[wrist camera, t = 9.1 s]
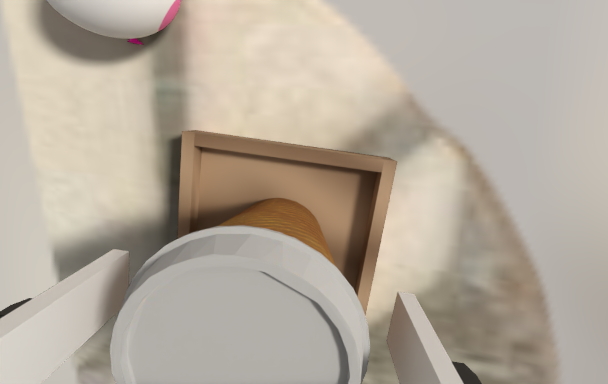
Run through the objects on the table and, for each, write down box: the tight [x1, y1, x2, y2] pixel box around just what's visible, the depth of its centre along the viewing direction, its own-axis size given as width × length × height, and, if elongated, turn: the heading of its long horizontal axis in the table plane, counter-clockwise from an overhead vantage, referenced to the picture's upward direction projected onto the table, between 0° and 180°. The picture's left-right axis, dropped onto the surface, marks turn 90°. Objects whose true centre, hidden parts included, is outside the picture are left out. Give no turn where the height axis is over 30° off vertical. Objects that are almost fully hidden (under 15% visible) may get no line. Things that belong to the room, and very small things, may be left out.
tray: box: [177, 130, 397, 315], centre depth 22 cm, size 14×14×2 cm
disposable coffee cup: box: [110, 198, 370, 384], centre depth 16 cm, size 10×10×12 cm
